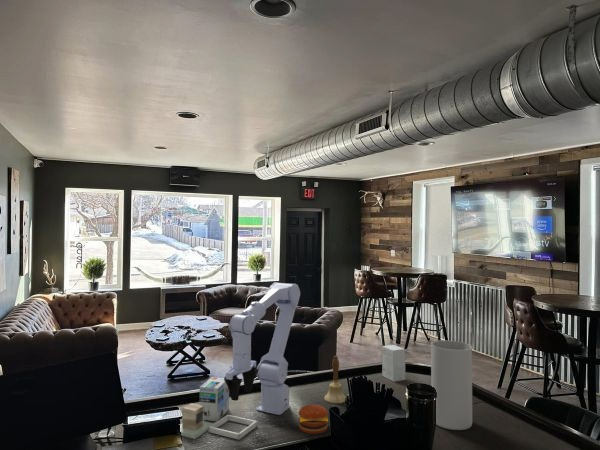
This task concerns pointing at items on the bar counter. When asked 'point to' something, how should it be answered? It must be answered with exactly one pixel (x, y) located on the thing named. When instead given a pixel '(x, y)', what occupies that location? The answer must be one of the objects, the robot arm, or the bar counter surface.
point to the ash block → (192, 416)
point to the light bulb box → (214, 398)
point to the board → (197, 432)
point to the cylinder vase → (452, 383)
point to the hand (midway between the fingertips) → (241, 395)
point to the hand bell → (335, 386)
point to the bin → (230, 434)
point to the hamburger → (313, 419)
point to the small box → (393, 363)
